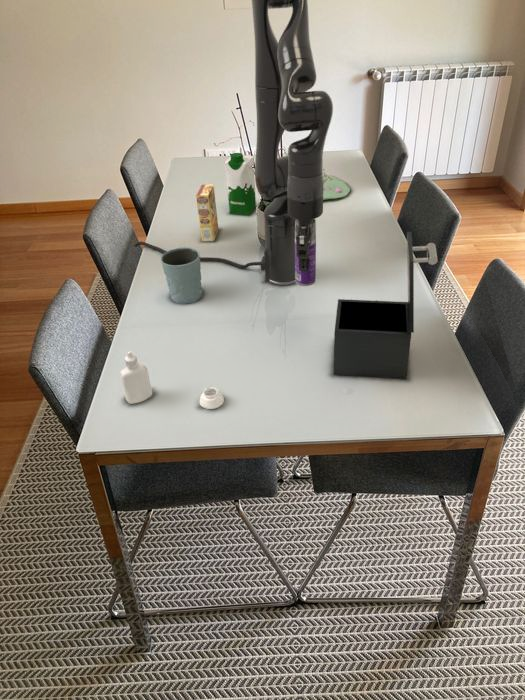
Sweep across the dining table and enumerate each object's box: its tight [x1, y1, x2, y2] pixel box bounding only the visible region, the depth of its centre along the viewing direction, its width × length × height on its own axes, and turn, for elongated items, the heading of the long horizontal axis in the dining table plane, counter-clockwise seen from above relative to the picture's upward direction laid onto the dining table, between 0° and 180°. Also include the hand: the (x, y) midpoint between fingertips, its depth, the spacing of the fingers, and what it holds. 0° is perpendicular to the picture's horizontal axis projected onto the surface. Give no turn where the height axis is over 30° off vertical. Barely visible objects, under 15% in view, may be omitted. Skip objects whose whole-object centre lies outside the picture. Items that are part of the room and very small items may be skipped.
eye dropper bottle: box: [119, 351, 153, 405], centre depth 125 cm, size 4×6×12 cm
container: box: [295, 219, 317, 287], centre depth 134 cm, size 5×5×15 cm
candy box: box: [195, 184, 220, 242], centre depth 187 cm, size 9×4×15 cm, turn 174°
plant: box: [322, 168, 351, 201], centre depth 216 cm, size 25×21×9 cm
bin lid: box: [406, 231, 438, 334], centre depth 122 cm, size 16×13×5 cm
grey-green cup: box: [160, 246, 203, 305], centre depth 159 cm, size 10×10×12 cm
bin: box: [332, 298, 412, 380], centre depth 132 cm, size 16×13×12 cm
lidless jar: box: [199, 386, 225, 410], centre depth 125 cm, size 5×3×5 cm
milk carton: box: [224, 152, 257, 217], centre depth 201 cm, size 9×9×20 cm
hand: (305, 264), depth 136 cm, fingers closed on container, 4 cm apart
